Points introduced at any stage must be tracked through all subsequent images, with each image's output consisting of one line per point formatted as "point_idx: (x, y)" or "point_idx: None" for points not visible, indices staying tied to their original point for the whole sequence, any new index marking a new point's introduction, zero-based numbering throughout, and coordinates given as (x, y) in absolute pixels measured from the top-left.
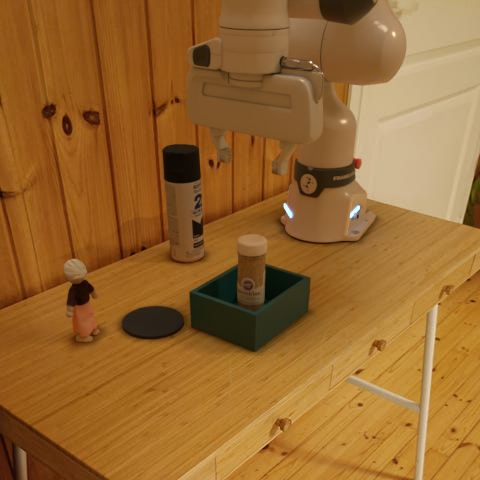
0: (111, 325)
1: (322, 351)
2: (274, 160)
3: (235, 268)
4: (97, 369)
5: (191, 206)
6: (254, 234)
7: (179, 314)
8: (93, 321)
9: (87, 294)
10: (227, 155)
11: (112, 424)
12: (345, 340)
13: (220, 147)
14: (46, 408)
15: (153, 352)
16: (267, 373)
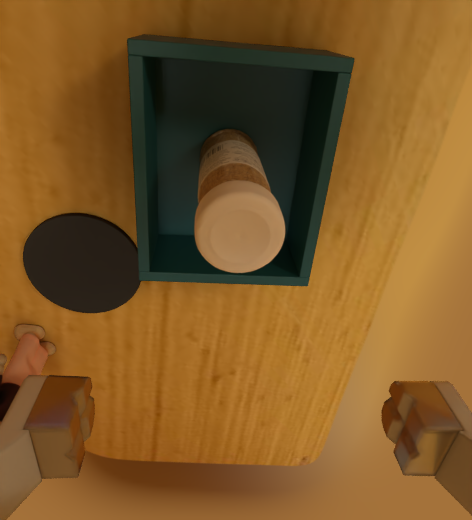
0: (35, 303)
1: (401, 185)
2: (413, 466)
3: (144, 126)
4: (124, 382)
5: None
6: (228, 204)
7: (104, 227)
8: (34, 351)
9: None
10: (82, 434)
11: (221, 429)
12: (435, 125)
13: (31, 487)
14: (141, 444)
15: (155, 323)
16: (336, 282)
